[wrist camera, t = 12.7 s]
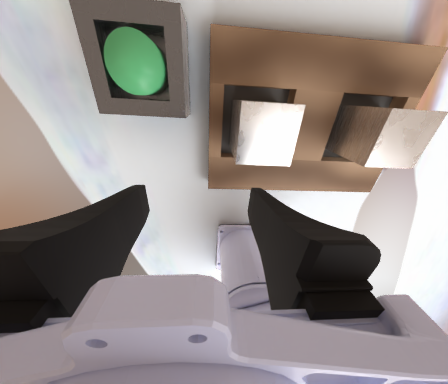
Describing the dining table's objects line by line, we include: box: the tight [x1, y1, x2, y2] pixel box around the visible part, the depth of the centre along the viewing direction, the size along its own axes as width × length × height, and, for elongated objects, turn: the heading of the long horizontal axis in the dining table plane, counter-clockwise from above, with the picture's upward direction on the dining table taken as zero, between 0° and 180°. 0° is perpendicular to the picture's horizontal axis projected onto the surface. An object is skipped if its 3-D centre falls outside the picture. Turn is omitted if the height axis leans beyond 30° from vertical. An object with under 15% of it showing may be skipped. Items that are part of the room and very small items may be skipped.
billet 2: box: [325, 105, 448, 169], centre depth 16 cm, size 4×4×6 cm
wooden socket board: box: [208, 24, 448, 192], centre depth 18 cm, size 14×20×2 cm
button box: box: [69, 0, 190, 118], centre depth 14 cm, size 7×7×4 cm
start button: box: [104, 27, 168, 95], centre depth 14 cm, size 4×4×3 cm
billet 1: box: [229, 99, 306, 166], centre depth 15 cm, size 4×4×6 cm
